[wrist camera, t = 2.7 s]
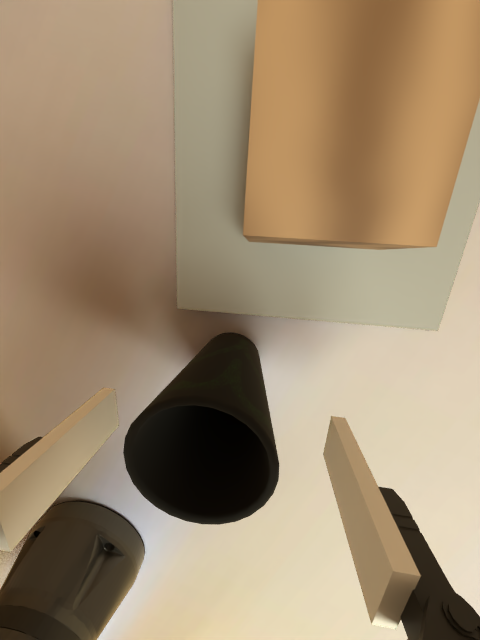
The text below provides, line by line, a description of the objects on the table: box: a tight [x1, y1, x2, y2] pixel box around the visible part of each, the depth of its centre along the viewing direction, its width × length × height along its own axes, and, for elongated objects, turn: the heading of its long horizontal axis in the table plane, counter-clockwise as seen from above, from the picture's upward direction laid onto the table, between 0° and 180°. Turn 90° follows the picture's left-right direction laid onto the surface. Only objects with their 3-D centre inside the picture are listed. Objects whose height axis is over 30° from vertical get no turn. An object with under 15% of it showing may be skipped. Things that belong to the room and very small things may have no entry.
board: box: [173, 0, 480, 331], centre depth 17 cm, size 22×22×1 cm
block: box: [243, 0, 480, 250], centre depth 13 cm, size 10×10×6 cm
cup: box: [123, 333, 279, 524], centre depth 17 cm, size 8×8×12 cm
